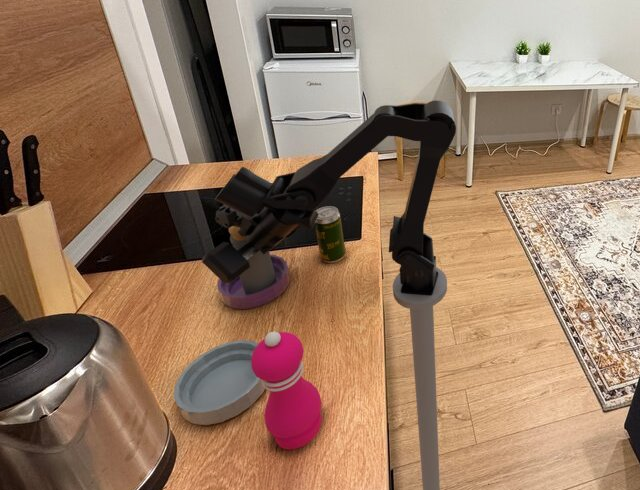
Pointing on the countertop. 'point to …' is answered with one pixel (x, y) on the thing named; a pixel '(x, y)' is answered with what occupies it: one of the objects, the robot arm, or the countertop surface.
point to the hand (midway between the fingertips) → (242, 255)
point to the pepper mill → (287, 390)
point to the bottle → (254, 266)
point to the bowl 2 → (218, 384)
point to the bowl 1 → (239, 299)
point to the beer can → (330, 234)
